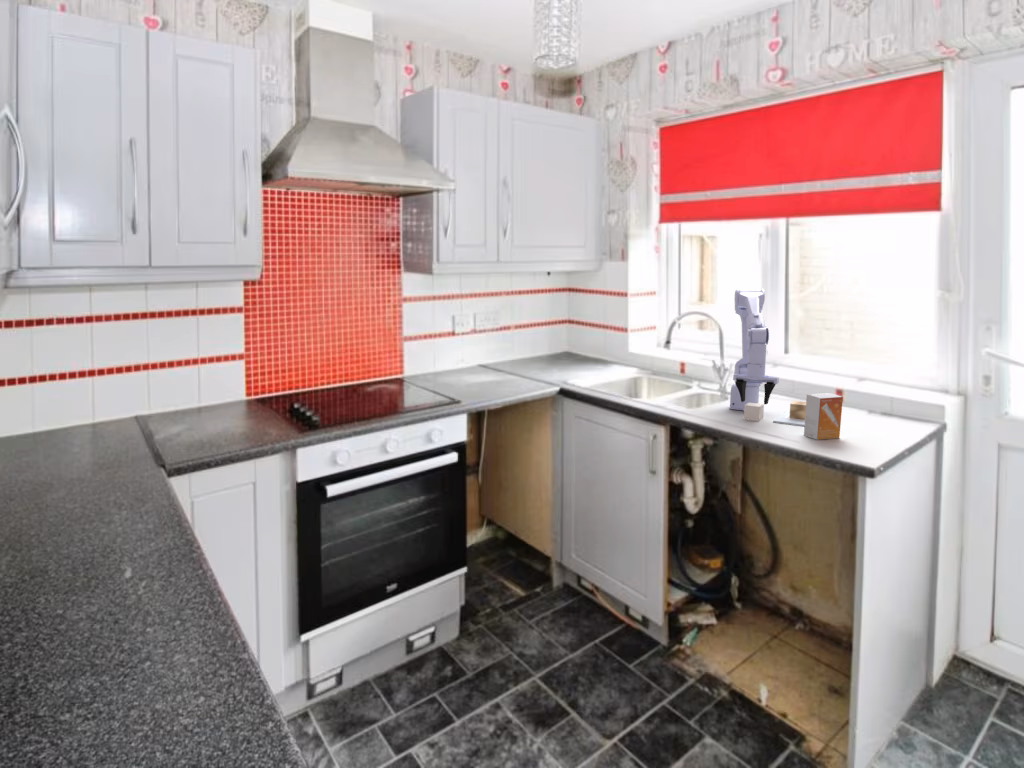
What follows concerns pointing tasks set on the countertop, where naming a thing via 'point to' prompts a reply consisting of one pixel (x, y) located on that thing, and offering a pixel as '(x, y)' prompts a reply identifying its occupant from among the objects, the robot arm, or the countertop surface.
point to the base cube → (797, 410)
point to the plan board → (789, 420)
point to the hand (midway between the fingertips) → (754, 402)
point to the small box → (823, 416)
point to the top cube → (753, 411)
